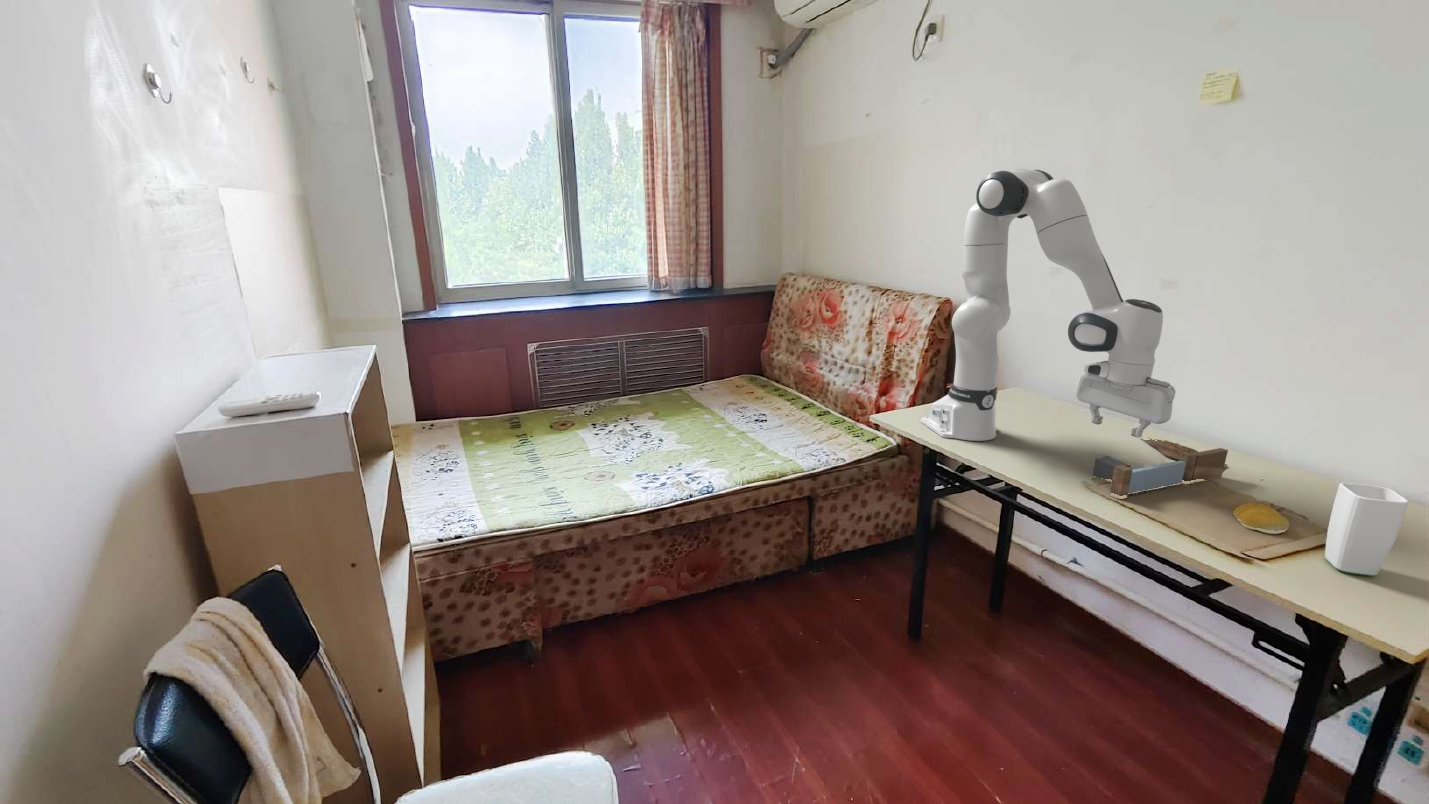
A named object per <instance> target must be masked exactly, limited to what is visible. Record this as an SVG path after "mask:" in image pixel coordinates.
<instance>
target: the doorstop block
mask: <svg viewBox="0 0 1429 804" xmlns="http://www.w3.org/2000/svg"><path fill="white" fill-rule="evenodd" d="M1121 465H1124V466H1126V467H1129V468H1131V464H1128V463H1126V462H1124V461H1122V460H1119V459H1116V458H1113V457H1111V456H1108V455H1107V456H1102V457H1096V458H1095V459H1094V463H1093V468H1092V469H1093V470H1092V476H1093V477H1095V478H1098V479H1100V478H1103V479H1111V480H1112V479H1113V473H1114V468H1115V466H1121Z"/></svg>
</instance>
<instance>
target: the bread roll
mask: <svg viewBox="0 0 1429 804" xmlns="http://www.w3.org/2000/svg"><path fill="white" fill-rule="evenodd" d="M1233 515H1235V516H1234V518H1235V517H1237V518H1238V519H1240V520H1241V522H1242V523H1243V524H1245V525H1247V526H1250V527H1253V528H1261V529H1265V530H1270V531H1271V530H1274V531H1279V530H1285V529H1287V528H1288V529H1290V522H1289V520H1288V519H1287V518H1286V517H1284V516H1282V515H1281V514H1280V513H1279V512H1278V511H1277V510H1276V509H1275V508H1273V507H1271V506H1270V505H1266V504H1264V503H1258V502H1247V503H1244V504H1241V505H1238V506H1237V507H1236V508H1234V511H1233Z"/></svg>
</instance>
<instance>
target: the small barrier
mask: <svg viewBox="0 0 1429 804" xmlns="http://www.w3.org/2000/svg"><path fill="white" fill-rule="evenodd" d="M1228 451H1229V450H1228V449H1226V448H1222V447H1219V448H1213V449H1207V450H1203V451H1198V452H1196V453H1191V454H1186V457H1185V461H1184V462H1186V465H1185V470H1184V474H1183V479H1182V480H1184V481H1191V480H1196V479H1204V480H1208V481H1212V480H1217V479H1222V478H1223V473H1224V471H1223V469H1224V465H1225V464H1226V460H1227V457H1228ZM1132 470H1133V468H1131V467H1130V468H1129V467H1126V466H1124V465H1121V466H1115V468H1114V473H1113V479H1112V484H1111V483H1110V484H1111V485H1110V490H1109V493H1110V492H1111V493H1114V494H1117V495H1119V496H1123V495H1128V491H1129V486H1130V480H1131V475H1132ZM1224 470H1225V469H1224ZM1210 479H1211V480H1210ZM1128 496H1129V495H1128Z"/></svg>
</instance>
